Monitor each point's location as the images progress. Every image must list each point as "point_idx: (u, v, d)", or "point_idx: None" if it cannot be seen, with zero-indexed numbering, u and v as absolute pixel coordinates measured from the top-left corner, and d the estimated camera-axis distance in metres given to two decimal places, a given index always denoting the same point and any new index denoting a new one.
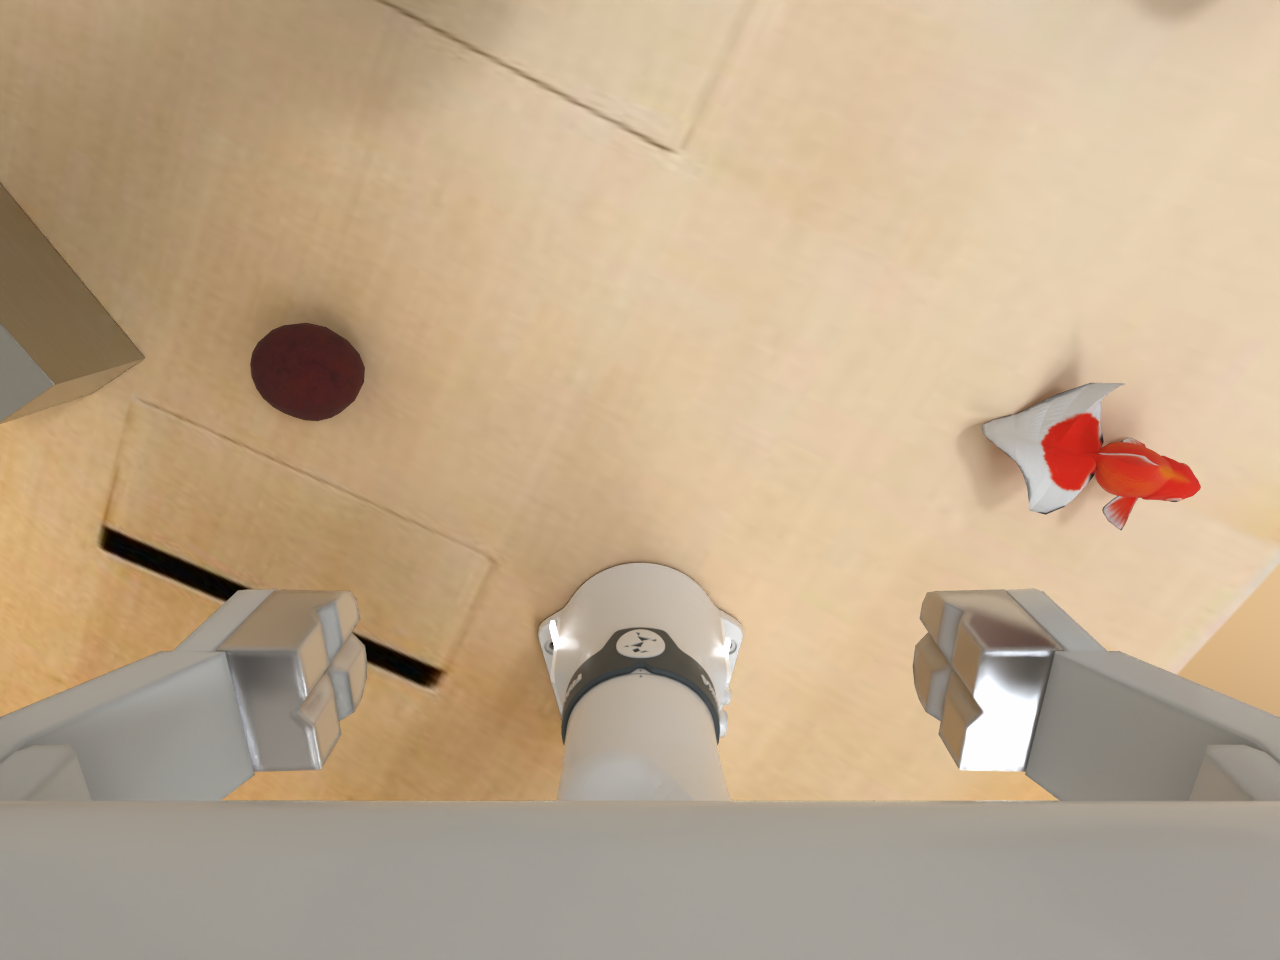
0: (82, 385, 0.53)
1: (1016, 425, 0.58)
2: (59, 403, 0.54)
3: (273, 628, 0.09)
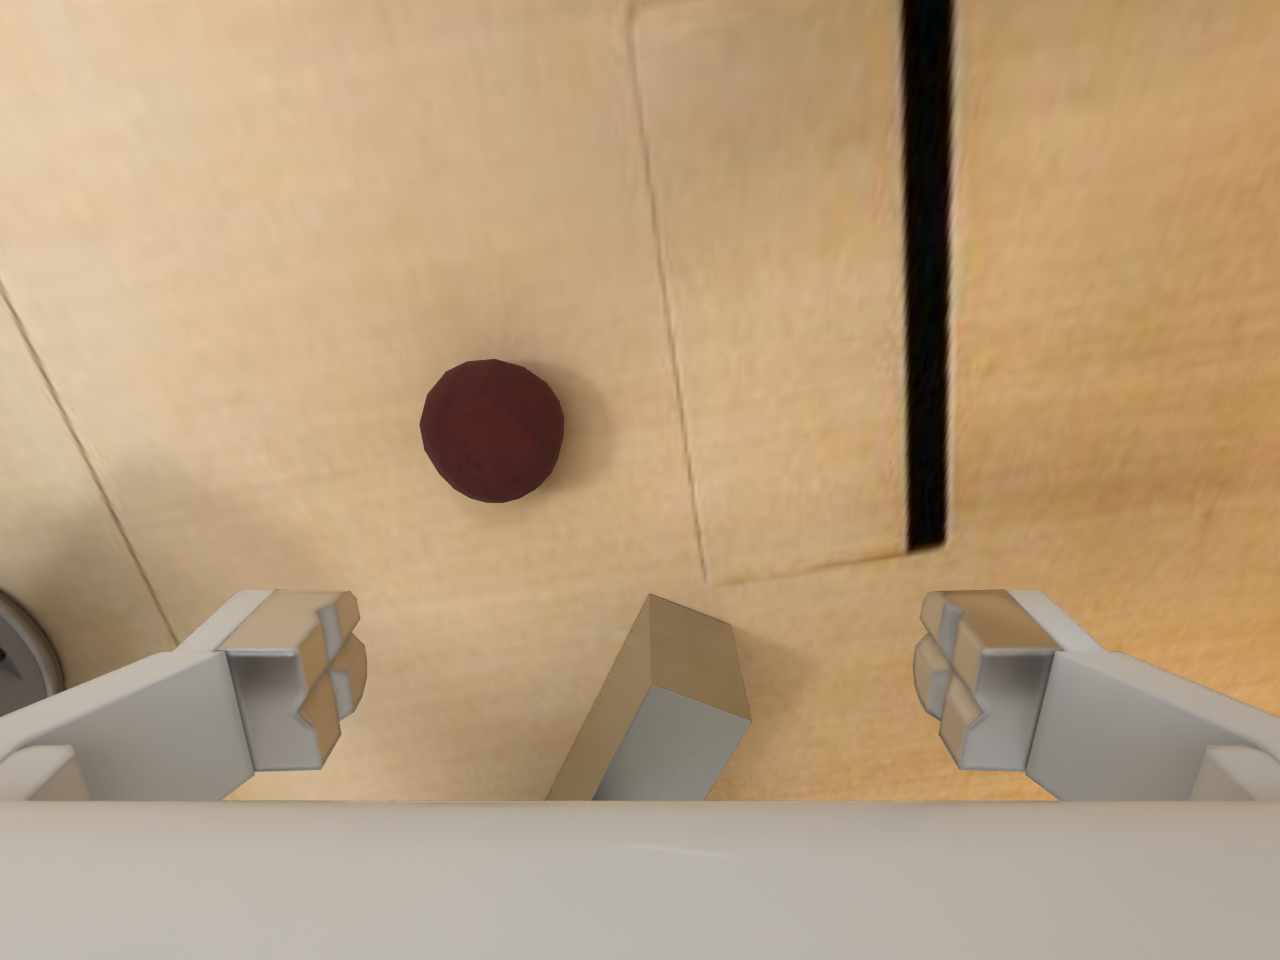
0: (687, 645, 0.42)
1: None
2: (733, 657, 0.43)
3: (273, 628, 0.09)
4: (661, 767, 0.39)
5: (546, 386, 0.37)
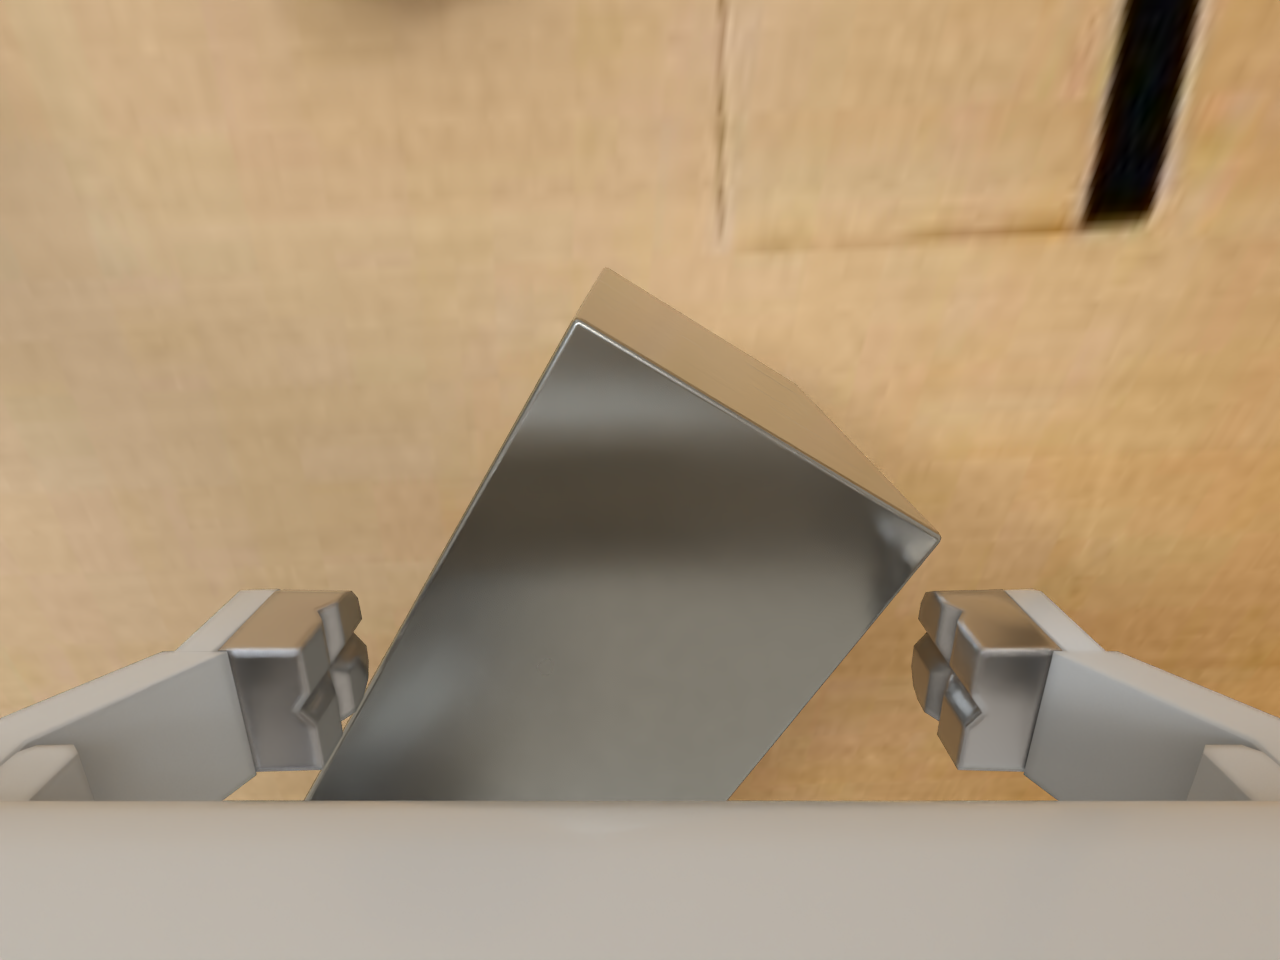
0: (702, 347, 0.14)
1: None
2: (823, 417, 0.15)
3: (275, 628, 0.09)
4: (577, 686, 0.11)
5: None
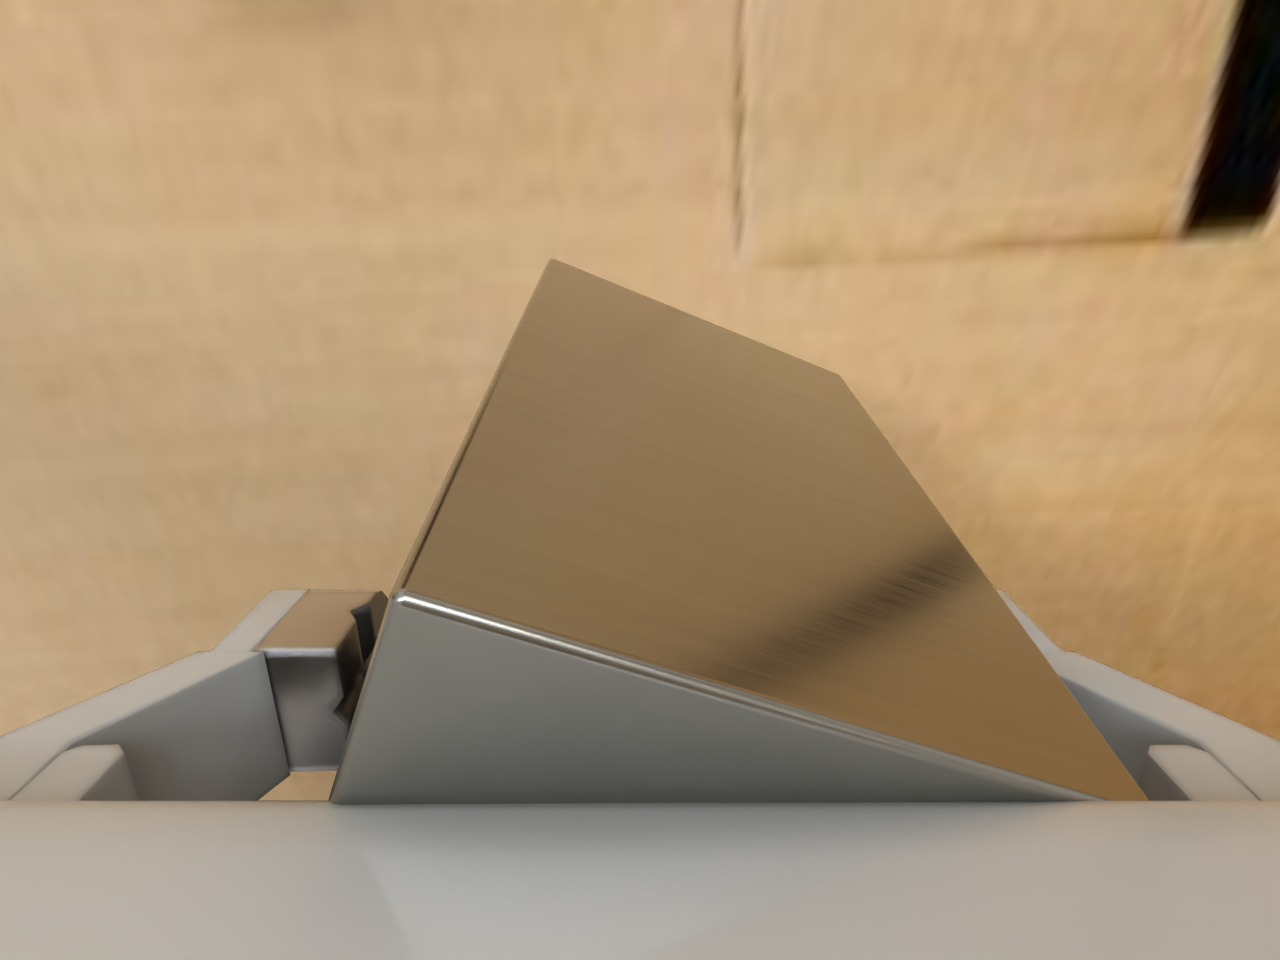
0: (695, 404, 0.09)
1: None
2: (890, 461, 0.10)
3: (309, 628, 0.09)
4: None
5: None
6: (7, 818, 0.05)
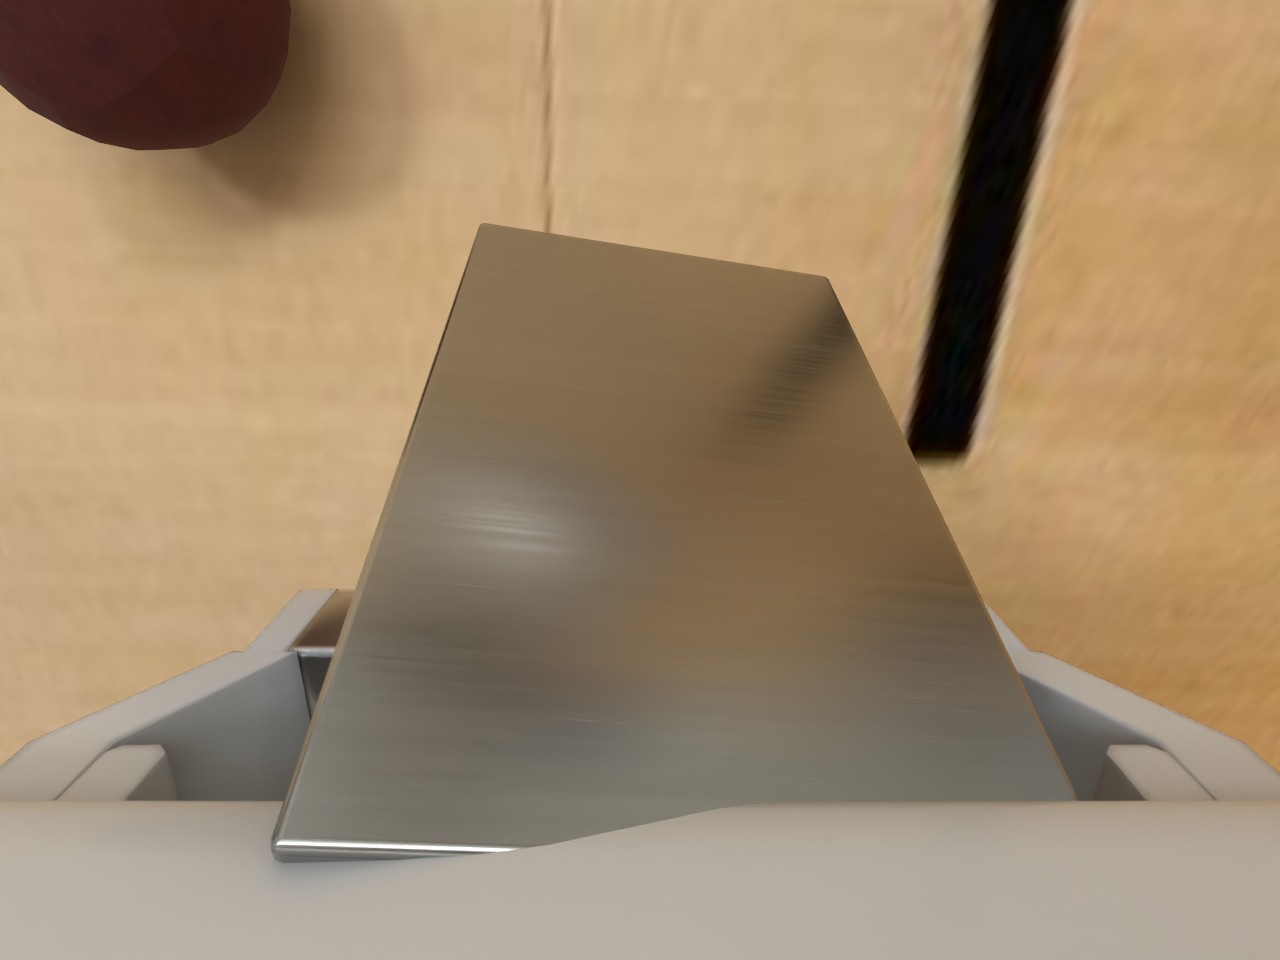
0: (634, 409, 0.08)
1: None
2: (869, 407, 0.09)
3: (341, 628, 0.09)
4: None
5: None
6: (7, 818, 0.05)
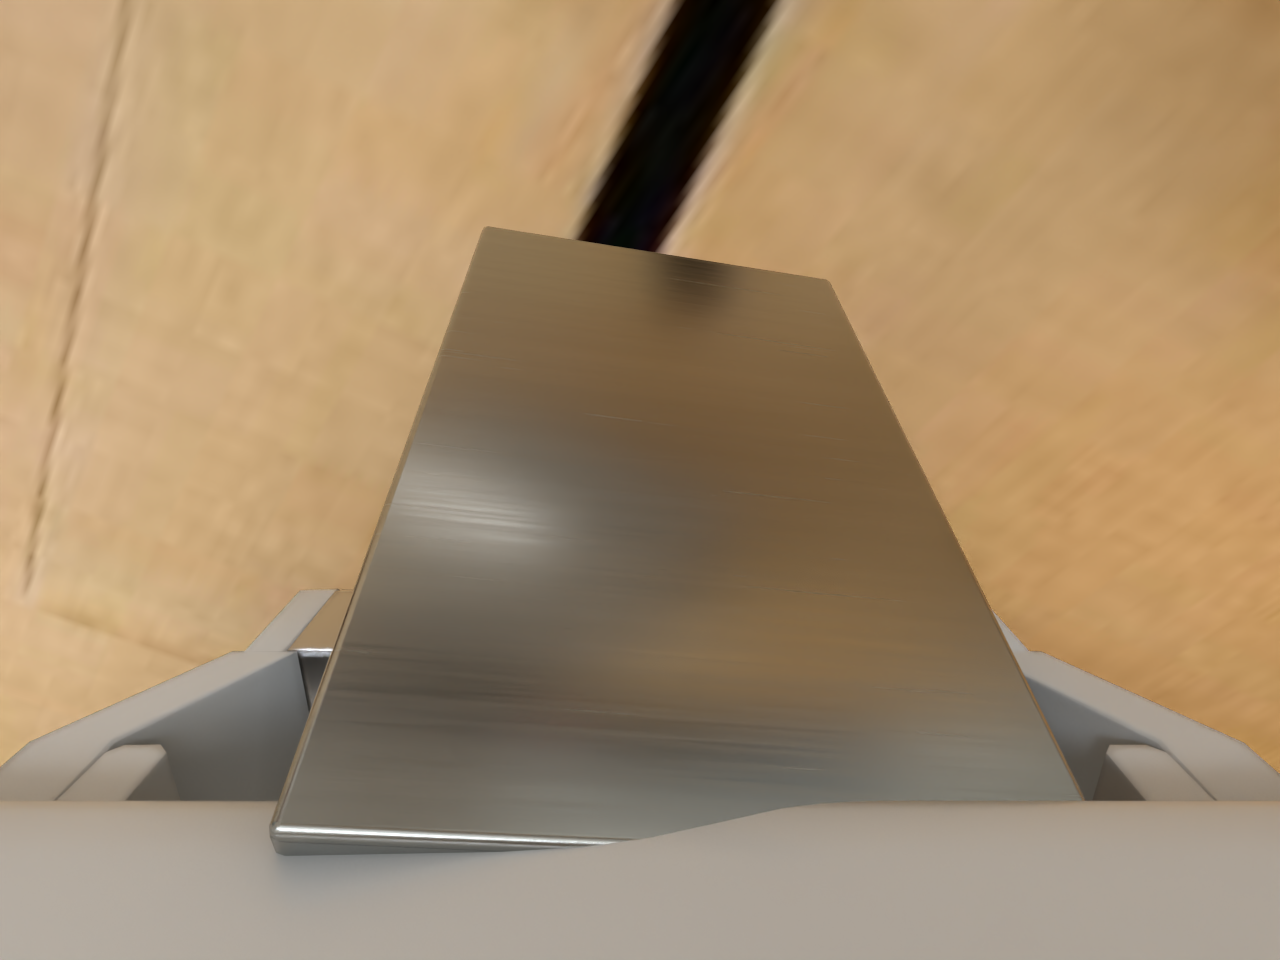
0: (635, 407, 0.08)
1: None
2: (870, 406, 0.09)
3: None
4: None
5: None
6: (7, 818, 0.05)
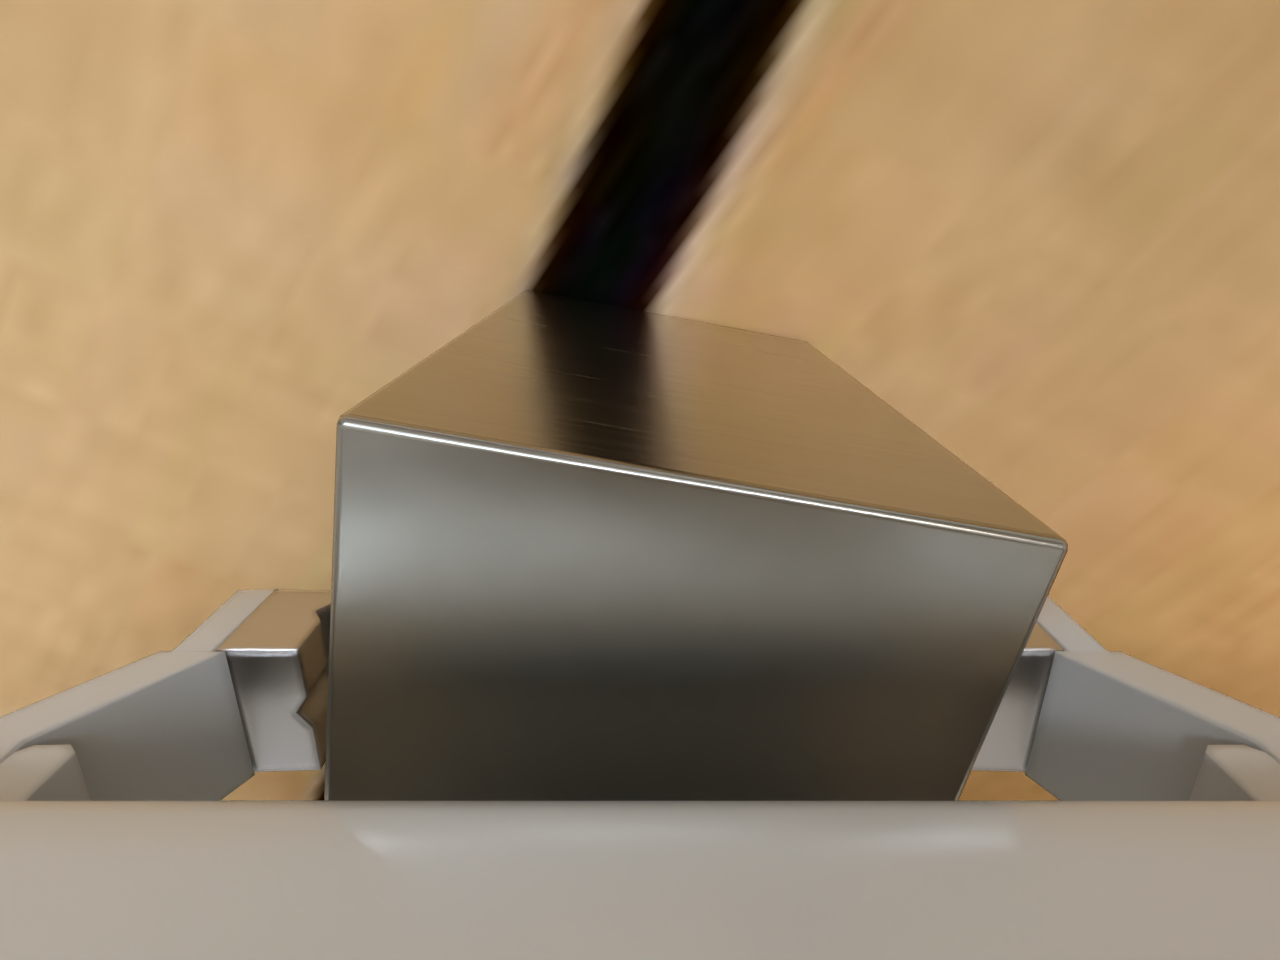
0: (644, 352, 0.10)
1: None
2: (843, 380, 0.11)
3: (273, 628, 0.09)
4: None
5: None
6: (7, 818, 0.05)
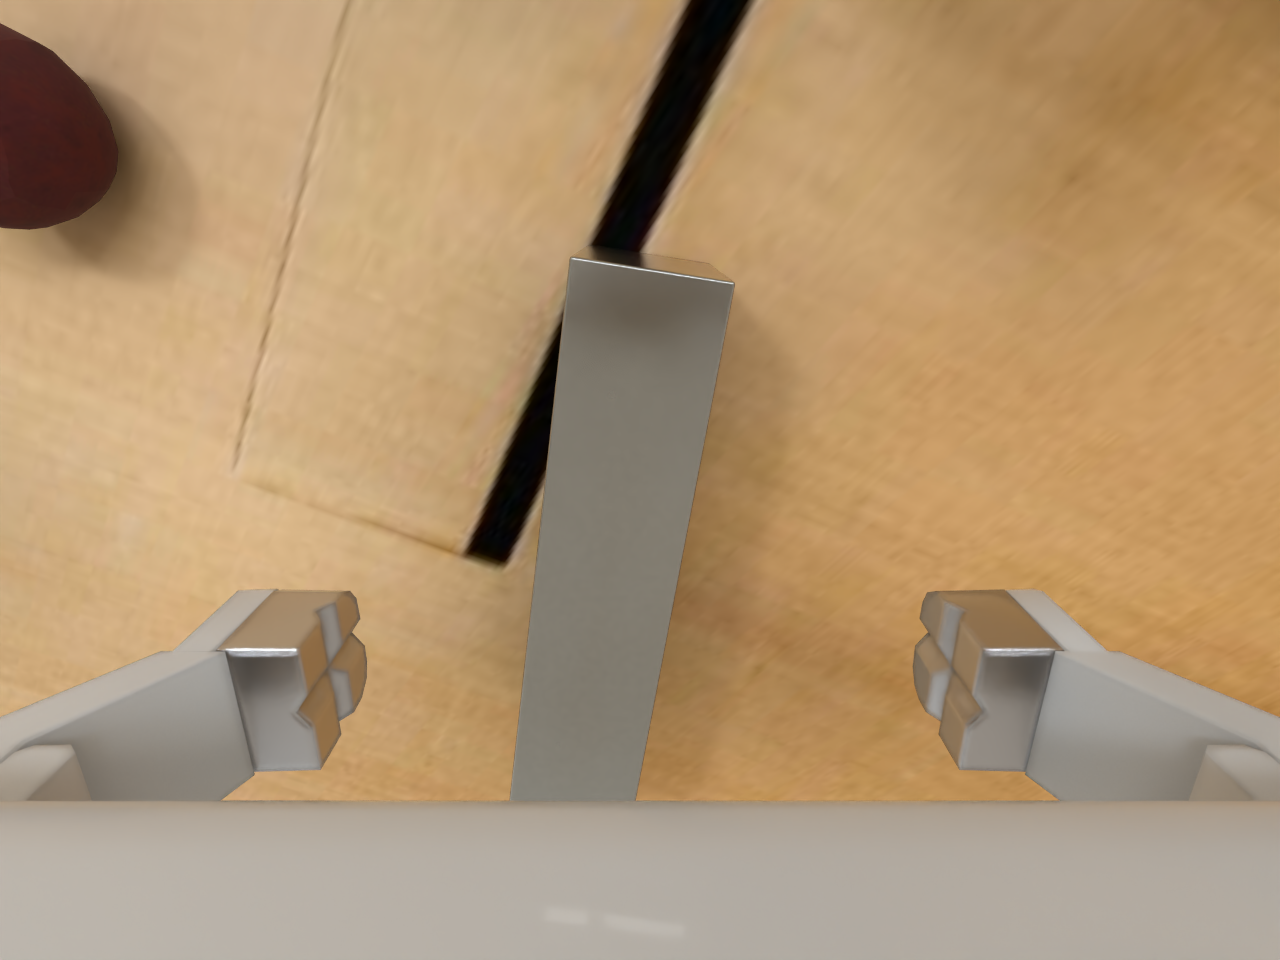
0: (638, 258, 0.29)
1: None
2: (710, 268, 0.30)
3: (273, 628, 0.09)
4: (627, 399, 0.26)
5: (90, 116, 0.28)
6: (7, 818, 0.05)
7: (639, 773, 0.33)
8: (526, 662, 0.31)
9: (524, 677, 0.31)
